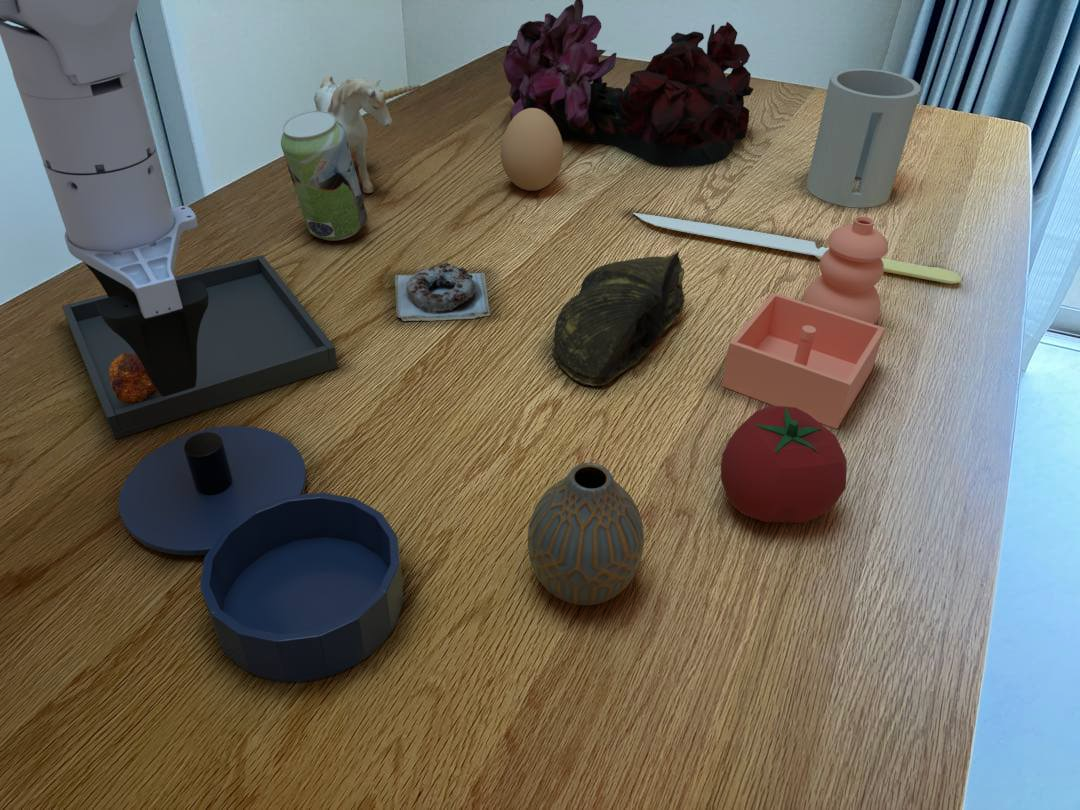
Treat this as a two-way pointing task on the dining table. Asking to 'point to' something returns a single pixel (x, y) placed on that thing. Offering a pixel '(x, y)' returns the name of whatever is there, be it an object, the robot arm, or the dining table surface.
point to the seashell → (617, 317)
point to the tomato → (783, 466)
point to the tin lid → (207, 486)
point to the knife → (793, 246)
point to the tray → (214, 346)
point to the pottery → (816, 333)
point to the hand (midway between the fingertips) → (161, 357)
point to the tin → (303, 586)
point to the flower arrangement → (633, 90)
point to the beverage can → (323, 175)
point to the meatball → (130, 379)
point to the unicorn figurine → (357, 112)
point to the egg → (532, 150)
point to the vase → (585, 537)
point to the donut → (441, 294)
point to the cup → (862, 136)
